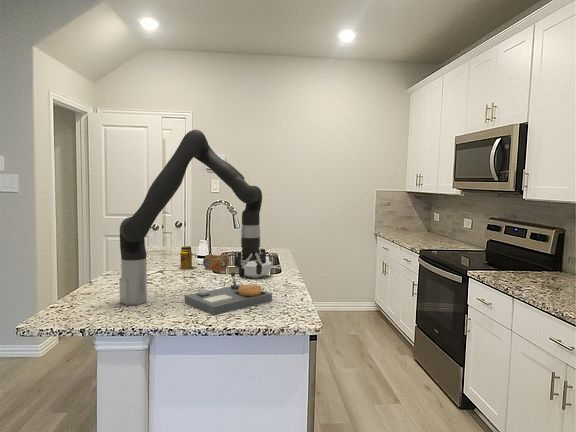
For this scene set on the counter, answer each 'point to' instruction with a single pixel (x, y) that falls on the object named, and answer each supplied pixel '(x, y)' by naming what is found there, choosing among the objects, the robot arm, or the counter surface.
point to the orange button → (250, 290)
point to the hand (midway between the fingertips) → (250, 275)
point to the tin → (215, 262)
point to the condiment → (186, 258)
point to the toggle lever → (233, 278)
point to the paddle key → (217, 299)
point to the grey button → (203, 292)
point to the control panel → (229, 305)
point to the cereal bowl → (251, 269)
